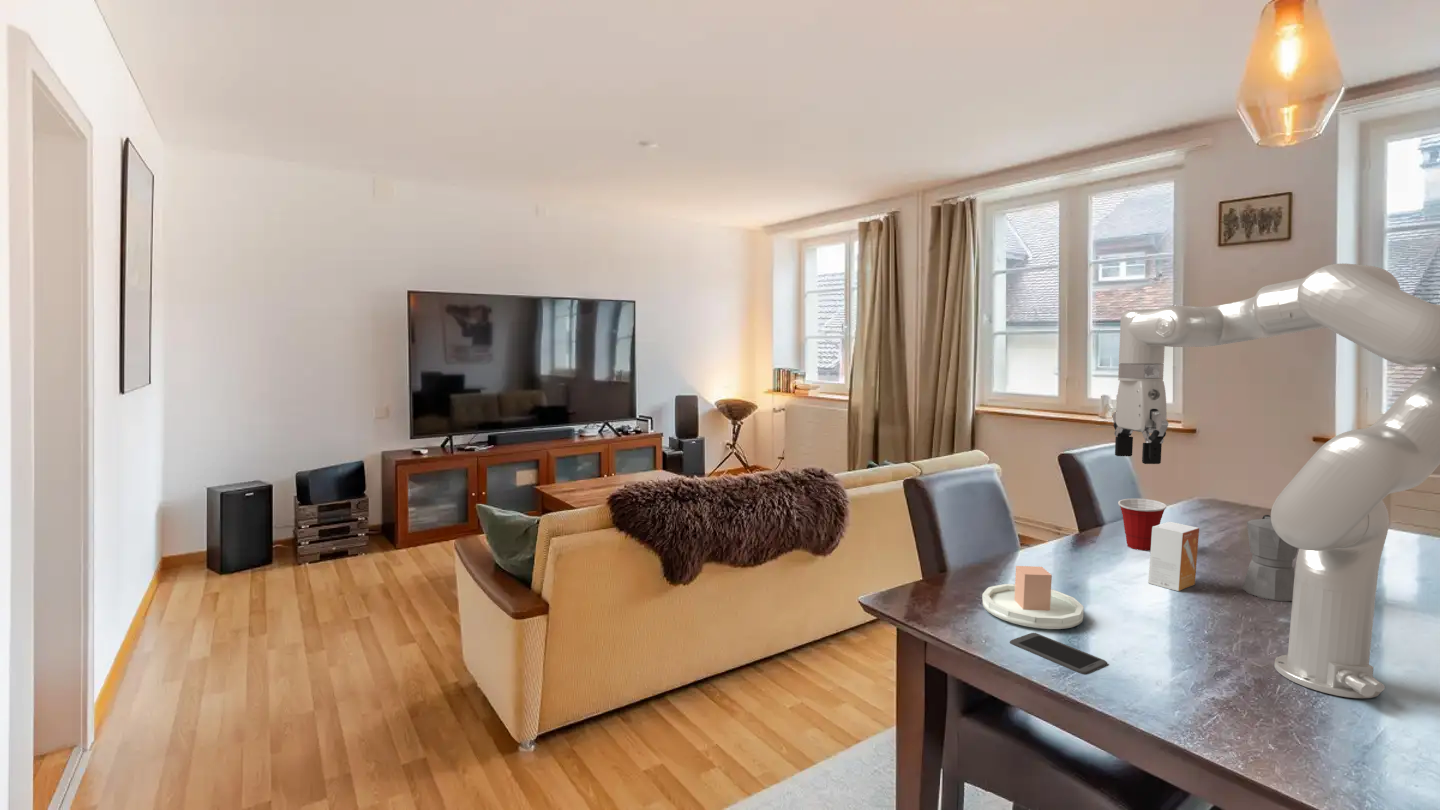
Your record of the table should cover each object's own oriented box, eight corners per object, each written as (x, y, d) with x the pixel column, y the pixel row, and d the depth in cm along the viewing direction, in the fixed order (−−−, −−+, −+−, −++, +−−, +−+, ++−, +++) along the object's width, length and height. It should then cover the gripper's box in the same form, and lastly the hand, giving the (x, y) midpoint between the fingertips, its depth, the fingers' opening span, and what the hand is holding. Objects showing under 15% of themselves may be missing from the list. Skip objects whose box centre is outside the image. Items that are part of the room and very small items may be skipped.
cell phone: (1032, 635, 125) (1033, 631, 125) (1109, 666, 113) (1109, 661, 113) (1007, 644, 121) (1007, 640, 121) (1084, 677, 109) (1084, 672, 109)
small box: (1179, 592, 146) (1183, 532, 145) (1147, 583, 151) (1151, 526, 150) (1196, 585, 150) (1200, 527, 149) (1164, 576, 156) (1168, 520, 154)
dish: (1100, 634, 124) (1100, 620, 124) (998, 630, 126) (999, 616, 126) (1060, 597, 142) (1060, 585, 142) (971, 594, 144) (972, 582, 144)
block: (1050, 610, 131) (1051, 575, 131) (1023, 609, 132) (1024, 574, 131) (1040, 600, 136) (1041, 566, 136) (1014, 599, 137) (1016, 565, 136)
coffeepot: (1306, 608, 137) (1313, 521, 135) (1247, 599, 142) (1254, 515, 140) (1287, 584, 151) (1293, 505, 149) (1234, 577, 155) (1240, 500, 153)
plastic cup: (1106, 544, 180) (1108, 499, 179) (1132, 539, 185) (1135, 496, 184) (1146, 556, 171) (1149, 509, 170) (1173, 550, 175) (1176, 505, 174)
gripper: (1188, 374, 125) (1184, 467, 126) (1135, 372, 142) (1132, 453, 143) (1146, 374, 125) (1142, 466, 126) (1098, 372, 142) (1095, 453, 143)
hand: (1136, 459), depth 135 cm, fingers open, 9 cm apart
